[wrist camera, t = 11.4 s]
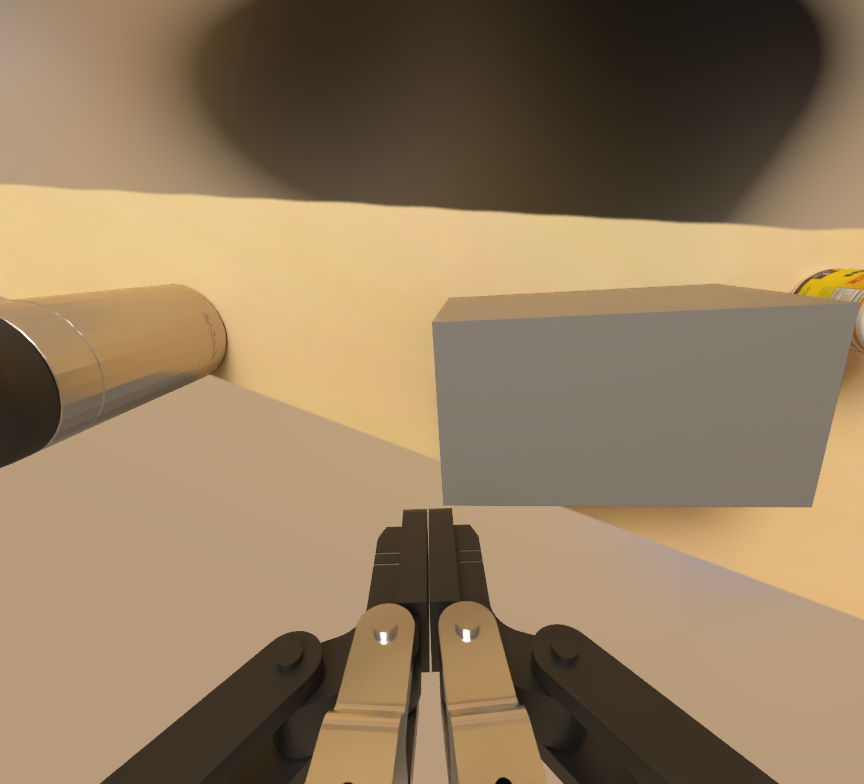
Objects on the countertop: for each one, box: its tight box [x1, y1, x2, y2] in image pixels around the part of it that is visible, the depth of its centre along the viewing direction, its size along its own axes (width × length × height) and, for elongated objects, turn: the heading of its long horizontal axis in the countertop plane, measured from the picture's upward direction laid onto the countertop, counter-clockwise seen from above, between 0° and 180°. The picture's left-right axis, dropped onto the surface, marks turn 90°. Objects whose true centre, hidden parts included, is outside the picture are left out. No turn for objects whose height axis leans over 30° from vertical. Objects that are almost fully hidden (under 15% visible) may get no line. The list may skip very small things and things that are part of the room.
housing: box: [432, 284, 860, 507], centre depth 32 cm, size 23×12×14 cm, turn 93°
